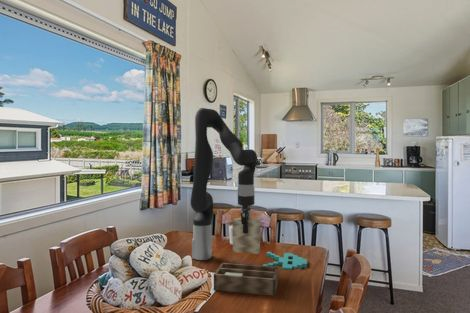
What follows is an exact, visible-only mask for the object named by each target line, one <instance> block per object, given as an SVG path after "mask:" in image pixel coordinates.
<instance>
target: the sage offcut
mask: <svg viewBox="0 0 470 313" xmlns="http://www.w3.org/2000/svg"><path fill="white" fill-rule="evenodd" d="M224 275H236V276H243V274H242V273H229V272H226V273H225V274H224Z"/></svg>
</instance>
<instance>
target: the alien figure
mask: <svg viewBox="0 0 470 313" xmlns="http://www.w3.org/2000/svg"><path fill="white" fill-rule="evenodd" d="M268 257H269V258H270V259H273V260H274V261H272V262H268V263H267V264H264V263H263V264H262V266H272V267H279V266H280V267H281V269H282V270H290V271H293V269H299V268H300V270H302V269H303V268H308V262H307V261H308V259H307V258H303V257H302V256H298V254H294V253H290V252H284V253H283V257H282V256H280V255H276V253H272V251H267V252H266V258H268Z"/></svg>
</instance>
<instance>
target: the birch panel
mask: <svg viewBox="0 0 470 313" xmlns="http://www.w3.org/2000/svg"><path fill="white" fill-rule="evenodd" d="M244 222H246V221H244ZM232 225H233V245H232V253H239V254H240V253H241V254H253V255H254V254H255V255H257V254H258V255H259V254H260V253H261V219H260V218H249V220H248V233H247V234H246V233H243V225H242V222H241V217H233V218H232Z"/></svg>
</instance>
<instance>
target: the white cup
mask: <svg viewBox="0 0 470 313" xmlns="http://www.w3.org/2000/svg"><path fill="white" fill-rule="evenodd" d="M228 236H229V244H230V245H232V246H233V224H230V225H229V226H228Z"/></svg>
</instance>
